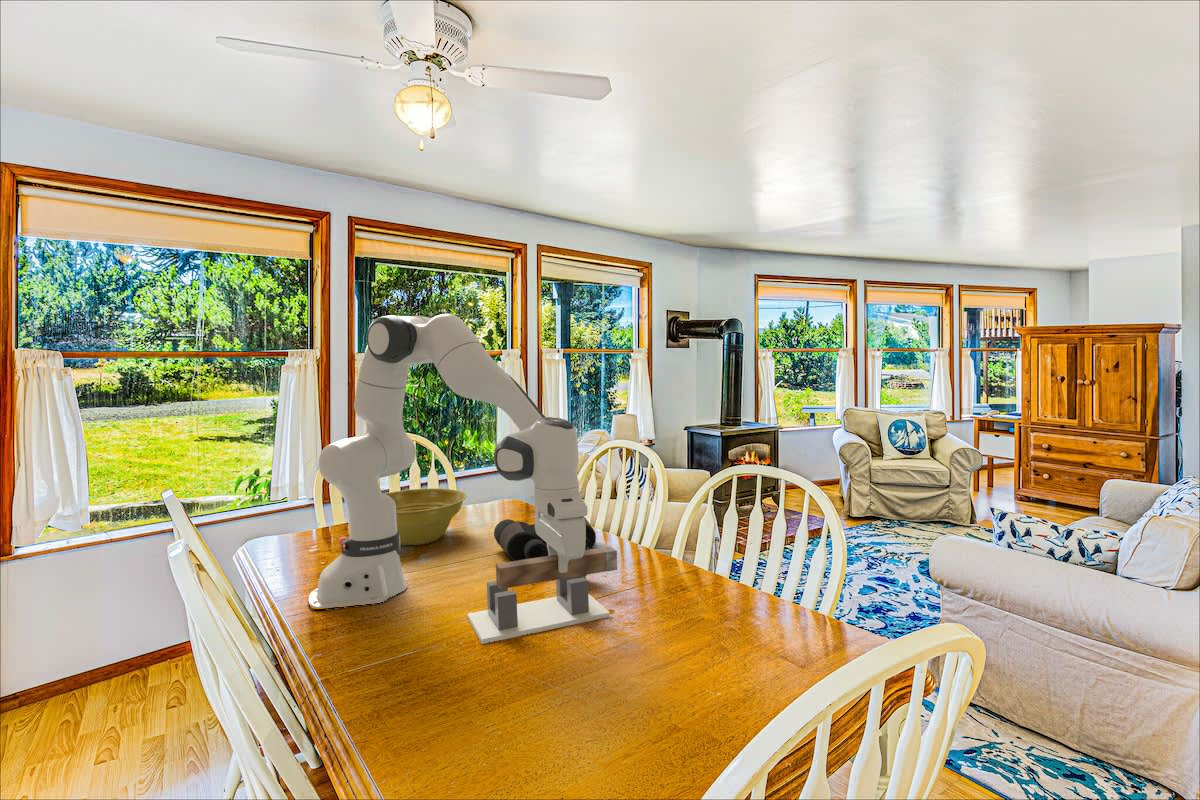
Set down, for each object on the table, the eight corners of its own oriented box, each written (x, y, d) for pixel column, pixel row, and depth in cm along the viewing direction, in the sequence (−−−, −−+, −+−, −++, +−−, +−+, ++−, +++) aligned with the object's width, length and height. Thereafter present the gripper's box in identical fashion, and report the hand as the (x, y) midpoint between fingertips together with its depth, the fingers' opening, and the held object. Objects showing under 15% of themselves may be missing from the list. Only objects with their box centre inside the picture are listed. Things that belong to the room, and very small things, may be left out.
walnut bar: (500, 589, 115) (499, 568, 115) (496, 583, 118) (495, 563, 118) (617, 569, 125) (616, 550, 125) (610, 564, 128) (610, 546, 128)
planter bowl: (454, 554, 180) (452, 509, 179) (346, 556, 180) (343, 512, 179) (477, 525, 212) (476, 487, 211) (385, 527, 212) (383, 489, 211)
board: (482, 644, 121) (480, 604, 120) (467, 618, 134) (466, 582, 133) (610, 616, 132) (609, 580, 132) (585, 595, 145) (584, 562, 145)
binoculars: (584, 537, 192) (584, 506, 191) (608, 561, 173) (608, 527, 172) (493, 549, 182) (493, 517, 181) (508, 576, 163) (507, 540, 162)
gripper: (526, 491, 129) (528, 555, 130) (559, 513, 110) (560, 587, 111) (554, 488, 132) (556, 551, 132) (591, 509, 113) (592, 582, 114)
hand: (558, 568), depth 122 cm, fingers closed on walnut bar, 3 cm apart
